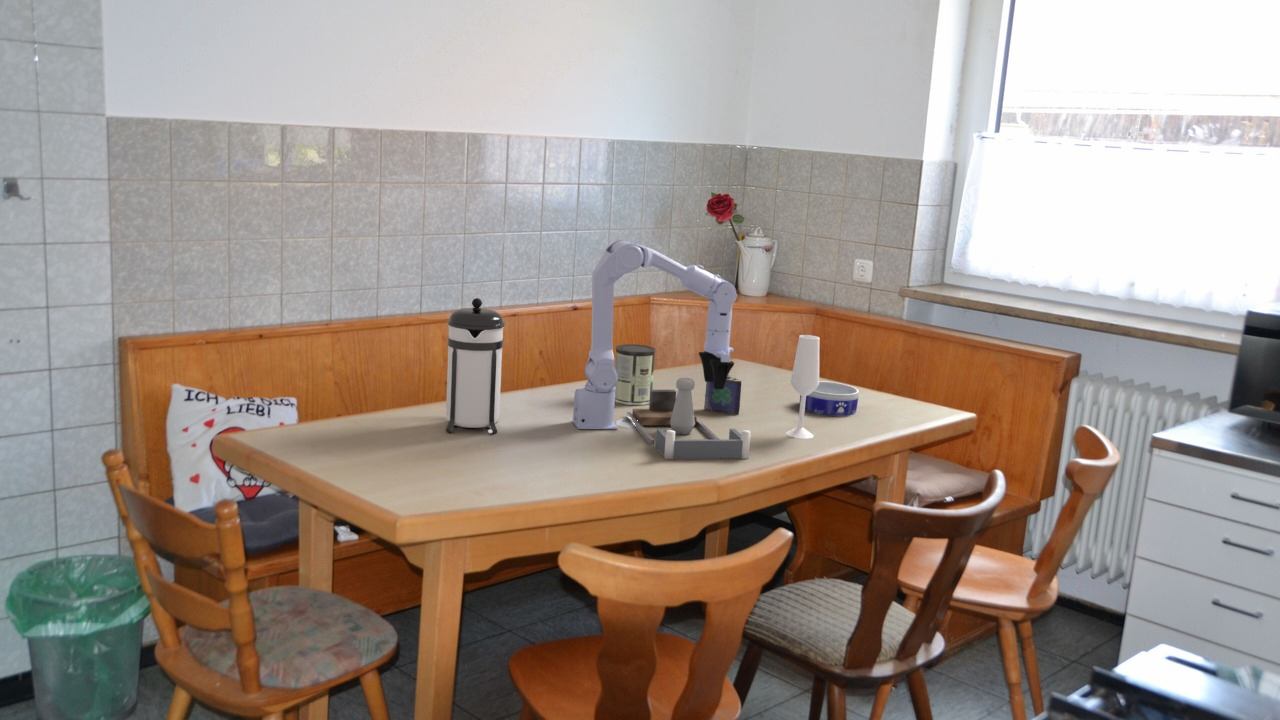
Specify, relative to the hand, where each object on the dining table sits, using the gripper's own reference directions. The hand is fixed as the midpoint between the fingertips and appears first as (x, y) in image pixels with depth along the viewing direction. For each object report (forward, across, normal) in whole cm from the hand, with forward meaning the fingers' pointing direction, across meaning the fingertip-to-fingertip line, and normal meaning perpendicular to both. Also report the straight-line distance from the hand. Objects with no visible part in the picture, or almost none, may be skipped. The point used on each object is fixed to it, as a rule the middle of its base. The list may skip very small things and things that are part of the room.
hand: (713, 385), depth 265 cm
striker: (+10, +3, +11) cm, 15 cm away
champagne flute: (+10, -8, -20) cm, 24 cm away
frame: (+10, -22, +9) cm, 26 cm away
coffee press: (+10, -1, +58) cm, 59 cm away
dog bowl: (+10, +17, -38) cm, 43 cm away
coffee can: (+10, +24, +14) cm, 30 cm away
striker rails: (+10, -4, +11) cm, 16 cm away
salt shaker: (+10, -6, +9) cm, 15 cm away
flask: (+10, +13, -7) cm, 18 cm away
